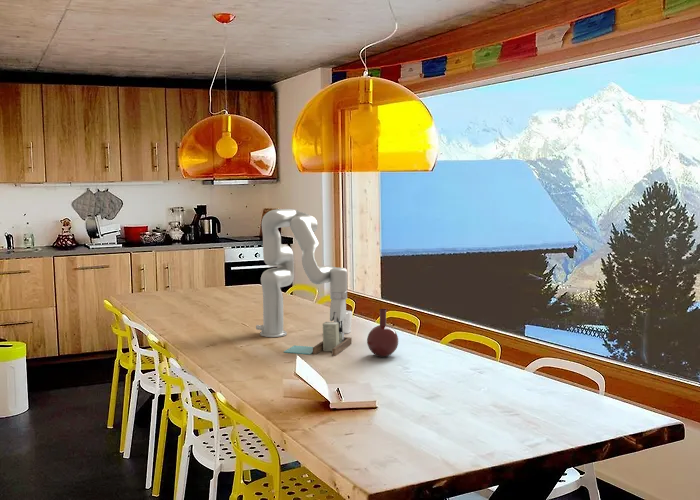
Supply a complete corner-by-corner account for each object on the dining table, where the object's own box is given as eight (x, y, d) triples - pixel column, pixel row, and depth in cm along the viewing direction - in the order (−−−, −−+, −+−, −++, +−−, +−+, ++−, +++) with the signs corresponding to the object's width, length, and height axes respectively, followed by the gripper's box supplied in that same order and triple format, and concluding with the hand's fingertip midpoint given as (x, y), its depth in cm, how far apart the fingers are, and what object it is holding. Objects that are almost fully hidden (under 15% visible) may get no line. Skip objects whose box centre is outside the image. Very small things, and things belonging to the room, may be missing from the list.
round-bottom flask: (404, 358, 314) (404, 310, 311) (376, 361, 308) (376, 313, 306) (388, 351, 325) (389, 305, 323) (361, 354, 319) (361, 308, 317)
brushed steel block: (325, 347, 330) (325, 333, 329) (330, 344, 335) (330, 331, 335) (339, 348, 328) (339, 334, 327) (343, 345, 334) (344, 332, 333)
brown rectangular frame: (312, 354, 319) (312, 347, 319) (330, 342, 341) (330, 336, 341) (335, 356, 316) (335, 349, 316) (351, 344, 338) (351, 337, 338)
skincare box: (339, 349, 327) (339, 322, 326) (336, 352, 323) (336, 324, 322) (326, 348, 330) (326, 321, 328) (322, 350, 325) (322, 323, 324)
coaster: (283, 352, 322) (283, 351, 322) (294, 346, 334) (294, 345, 334) (309, 354, 319) (309, 353, 319) (319, 348, 330) (319, 347, 330)
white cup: (350, 334, 359) (350, 313, 358) (334, 333, 360) (334, 313, 359) (353, 330, 366) (353, 310, 365) (337, 330, 368) (337, 310, 367)
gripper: (335, 292, 342) (335, 332, 344) (325, 297, 328) (325, 339, 330) (351, 293, 340) (351, 333, 342) (341, 298, 326) (341, 340, 328)
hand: (338, 335), depth 336 cm, fingers closed
